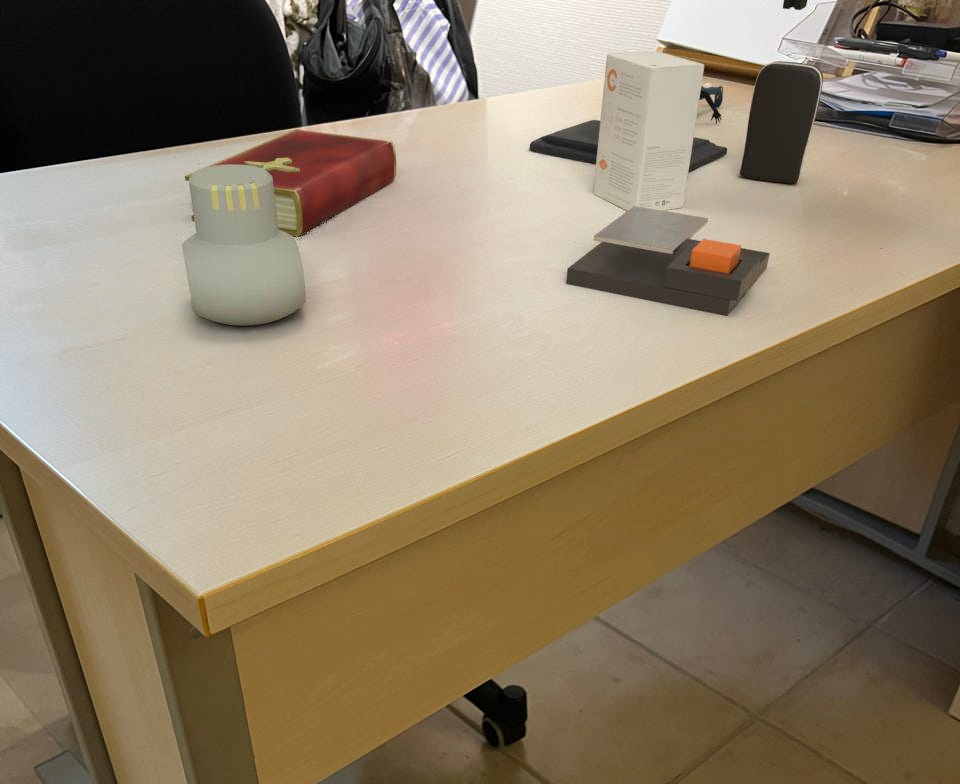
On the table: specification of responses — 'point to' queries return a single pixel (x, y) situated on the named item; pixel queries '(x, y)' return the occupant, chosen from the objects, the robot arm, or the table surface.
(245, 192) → the air freshener
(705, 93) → the person figurine
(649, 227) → the weighing plate
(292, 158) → the hardcover book
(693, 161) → the wallet
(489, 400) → the table surface
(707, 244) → the button
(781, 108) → the battery charger
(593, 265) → the scale
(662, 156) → the small box
